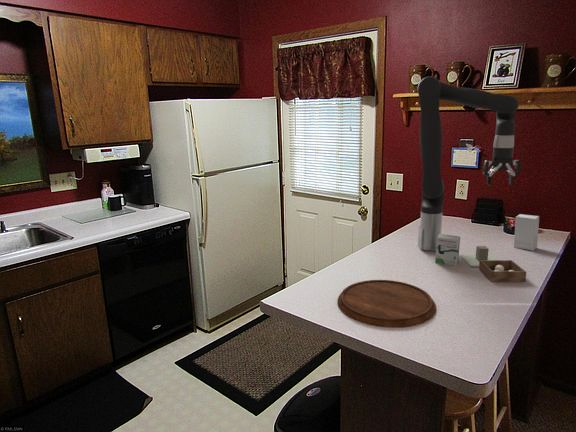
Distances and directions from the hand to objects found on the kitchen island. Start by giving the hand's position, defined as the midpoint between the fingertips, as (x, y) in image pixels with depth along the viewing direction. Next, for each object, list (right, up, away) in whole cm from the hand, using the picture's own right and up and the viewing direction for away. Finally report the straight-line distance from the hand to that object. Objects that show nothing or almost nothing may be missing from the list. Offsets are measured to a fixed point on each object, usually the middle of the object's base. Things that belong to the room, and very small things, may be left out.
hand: (499, 184), depth 176 cm
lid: (-10, -32, -5) cm, 34 cm away
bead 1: (-12, -36, -21) cm, 44 cm away
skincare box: (+17, -28, +12) cm, 35 cm away
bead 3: (-7, -36, -22) cm, 43 cm away
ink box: (-24, -33, -4) cm, 41 cm away
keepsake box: (-9, -36, -19) cm, 42 cm away
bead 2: (-9, -35, -17) cm, 40 cm away
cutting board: (-57, -43, -37) cm, 80 cm away
